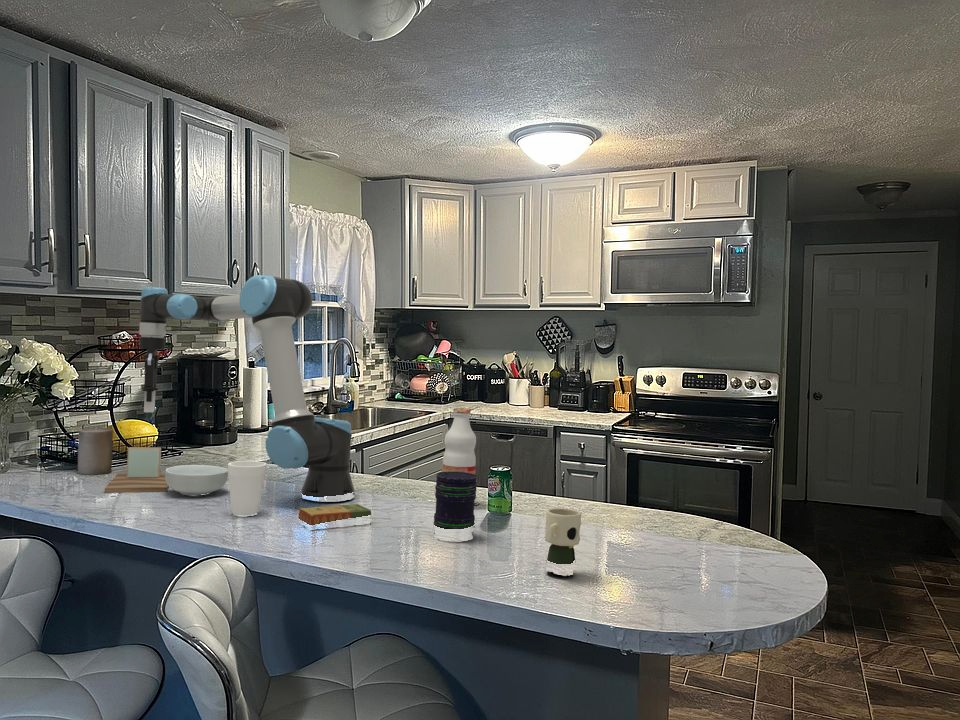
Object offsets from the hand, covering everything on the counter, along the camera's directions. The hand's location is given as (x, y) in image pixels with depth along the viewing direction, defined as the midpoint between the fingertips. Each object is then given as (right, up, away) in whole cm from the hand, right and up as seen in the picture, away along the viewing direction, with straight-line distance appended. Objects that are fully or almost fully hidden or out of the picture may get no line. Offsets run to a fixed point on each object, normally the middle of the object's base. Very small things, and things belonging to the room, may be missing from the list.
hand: (149, 411), depth 224 cm
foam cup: (+44, -24, -41) cm, 65 cm away
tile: (+2, -19, -7) cm, 21 cm away
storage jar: (+97, -26, -53) cm, 114 cm away
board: (+3, -21, -11) cm, 24 cm away
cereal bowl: (+23, -22, -20) cm, 38 cm away
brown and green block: (+68, -25, -46) cm, 86 cm away
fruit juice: (+97, -26, -19) cm, 102 cm away
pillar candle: (-19, -20, +3) cm, 27 cm away
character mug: (+120, -28, -78) cm, 146 cm away
